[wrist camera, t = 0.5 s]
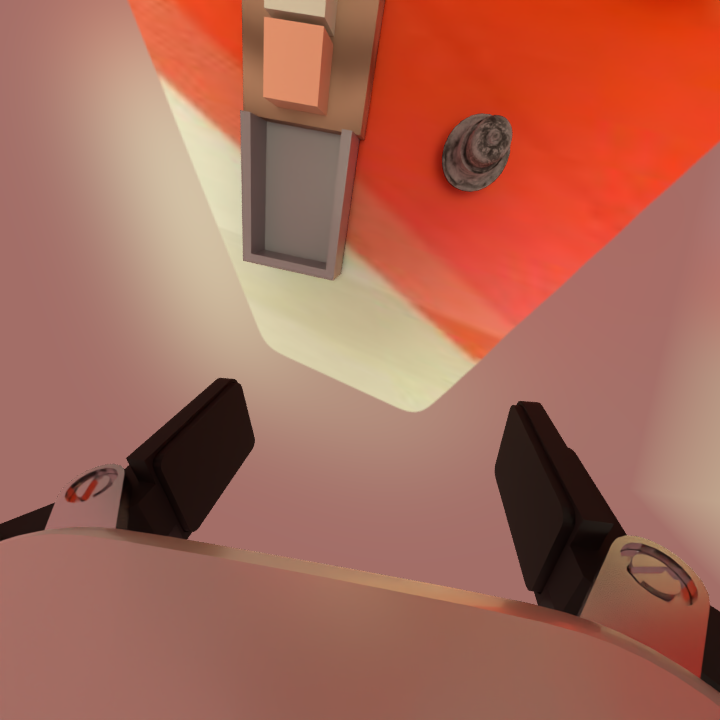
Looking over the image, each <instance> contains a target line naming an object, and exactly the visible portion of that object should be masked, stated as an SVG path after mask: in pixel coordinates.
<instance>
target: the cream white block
mask: <svg viewBox="0 0 720 720" xmlns="http://www.w3.org/2000/svg"><path fill="white" fill-rule="evenodd" d="M337 1H338V0H264V8H265V10H266V11H267V12H268V13H269V15H270V16H271V17H272V18H276V19H282V20H288V21H294V22H301V23H307V24H313V25H320V26H324V27H325V29H326V31H327V33H328V35H329V36H334V33H335V22H336V12H337Z"/></svg>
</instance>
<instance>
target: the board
mask: <svg viewBox="0 0 720 720" xmlns="http://www.w3.org/2000/svg"><path fill="white" fill-rule="evenodd" d="M384 4H385V0H338V1H337V12H336V22H335V33H334V36H329V37H330V39H331V41H332V43H333V55H332V65H331V76H330V87H329V98H328V108H327V116H324V115H319V114H313V113H308V112H302V111H297V110H291V109H286V108H280V107H277V106H275V105H274V104H272V103H271V102H270V101H268V100H267V99H265V98H264V97H263V64H264V17H269V18H272V17H271V16H270V15H269V13H268V12H267V11H266V10H265V8H264V0H242V40H243V109H244V111H247V112H251V113H253V114H255V115H256V116H258V117H260V118H262V119H264V120H265V121H268V122H273V123H279V124H284V125H289V126H295V127H300V128H305V129H311V130H316V131H322V132H327V133H332V134H338V135H341V132H342V129H345V130H351V131H353V132H354V133H355V134H356V136H357V137H358V138H359V139H360V140H365V133H366V126H367V119H368V113H369V106H370V99H371V92H372V85H373V79H374V72H375V65H376V58H377V51H378V44H379V38H380V31H381V24H382V17H383V10H384Z"/></svg>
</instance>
